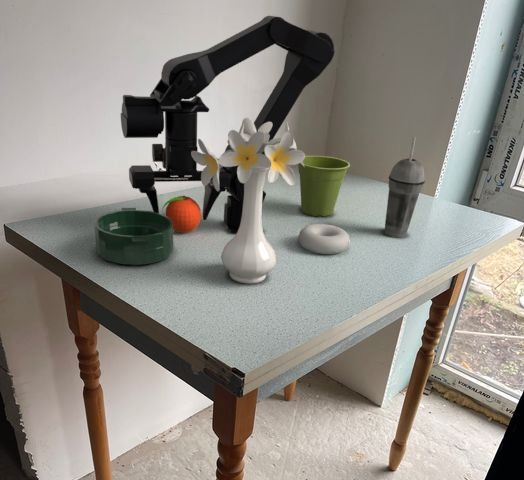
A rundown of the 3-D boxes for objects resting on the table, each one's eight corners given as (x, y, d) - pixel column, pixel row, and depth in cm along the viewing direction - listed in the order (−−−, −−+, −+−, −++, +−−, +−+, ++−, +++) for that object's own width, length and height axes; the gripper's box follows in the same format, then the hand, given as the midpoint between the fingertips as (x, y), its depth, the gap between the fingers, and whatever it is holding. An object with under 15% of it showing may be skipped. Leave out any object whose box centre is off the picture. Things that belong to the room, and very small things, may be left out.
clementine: (168, 240, 107) (168, 203, 103) (155, 228, 111) (154, 192, 108) (206, 235, 110) (207, 199, 106) (192, 223, 115) (192, 189, 111)
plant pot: (345, 208, 132) (353, 159, 126) (338, 224, 122) (346, 171, 116) (296, 200, 134) (301, 152, 128) (285, 215, 124) (291, 163, 118)
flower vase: (179, 279, 93) (179, 118, 79) (256, 253, 105) (267, 109, 91) (234, 308, 86) (244, 137, 72) (310, 277, 97) (330, 125, 84)
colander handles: (135, 211, 105) (135, 207, 105) (148, 244, 92) (148, 240, 92) (121, 211, 104) (121, 207, 104) (132, 245, 91) (132, 241, 91)
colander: (166, 236, 108) (165, 208, 105) (179, 265, 97) (179, 235, 95) (94, 239, 104) (91, 210, 101) (99, 269, 93) (97, 238, 91)
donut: (342, 261, 105) (352, 243, 113) (345, 244, 103) (355, 226, 111) (291, 251, 107) (305, 233, 115) (293, 234, 105) (307, 217, 113)
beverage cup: (415, 232, 121) (437, 135, 111) (408, 242, 116) (431, 141, 105) (382, 225, 124) (401, 130, 113) (374, 234, 118) (393, 135, 107)
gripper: (220, 128, 111) (217, 206, 119) (123, 127, 105) (127, 208, 113) (235, 141, 102) (231, 224, 110) (130, 140, 96) (134, 228, 104)
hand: (181, 220), depth 110 cm, fingers open, 9 cm apart
